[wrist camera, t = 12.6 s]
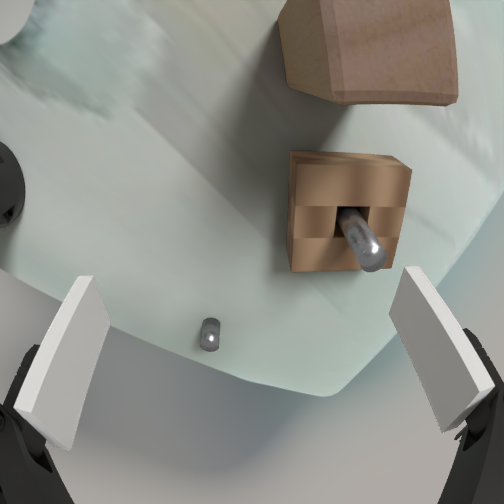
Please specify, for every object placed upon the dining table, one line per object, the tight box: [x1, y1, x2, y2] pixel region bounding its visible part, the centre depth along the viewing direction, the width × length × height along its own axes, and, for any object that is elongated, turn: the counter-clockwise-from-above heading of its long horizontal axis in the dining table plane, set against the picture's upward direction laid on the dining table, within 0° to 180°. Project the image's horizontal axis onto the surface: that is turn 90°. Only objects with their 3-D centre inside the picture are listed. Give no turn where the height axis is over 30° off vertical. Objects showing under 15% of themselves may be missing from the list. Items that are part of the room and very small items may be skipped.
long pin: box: [336, 206, 387, 272], centre depth 35 cm, size 3×3×14 cm
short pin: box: [200, 318, 220, 352], centre depth 51 cm, size 3×3×5 cm
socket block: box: [286, 151, 412, 272], centre depth 39 cm, size 14×14×6 cm
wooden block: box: [278, 0, 458, 106], centre depth 22 cm, size 10×10×20 cm
